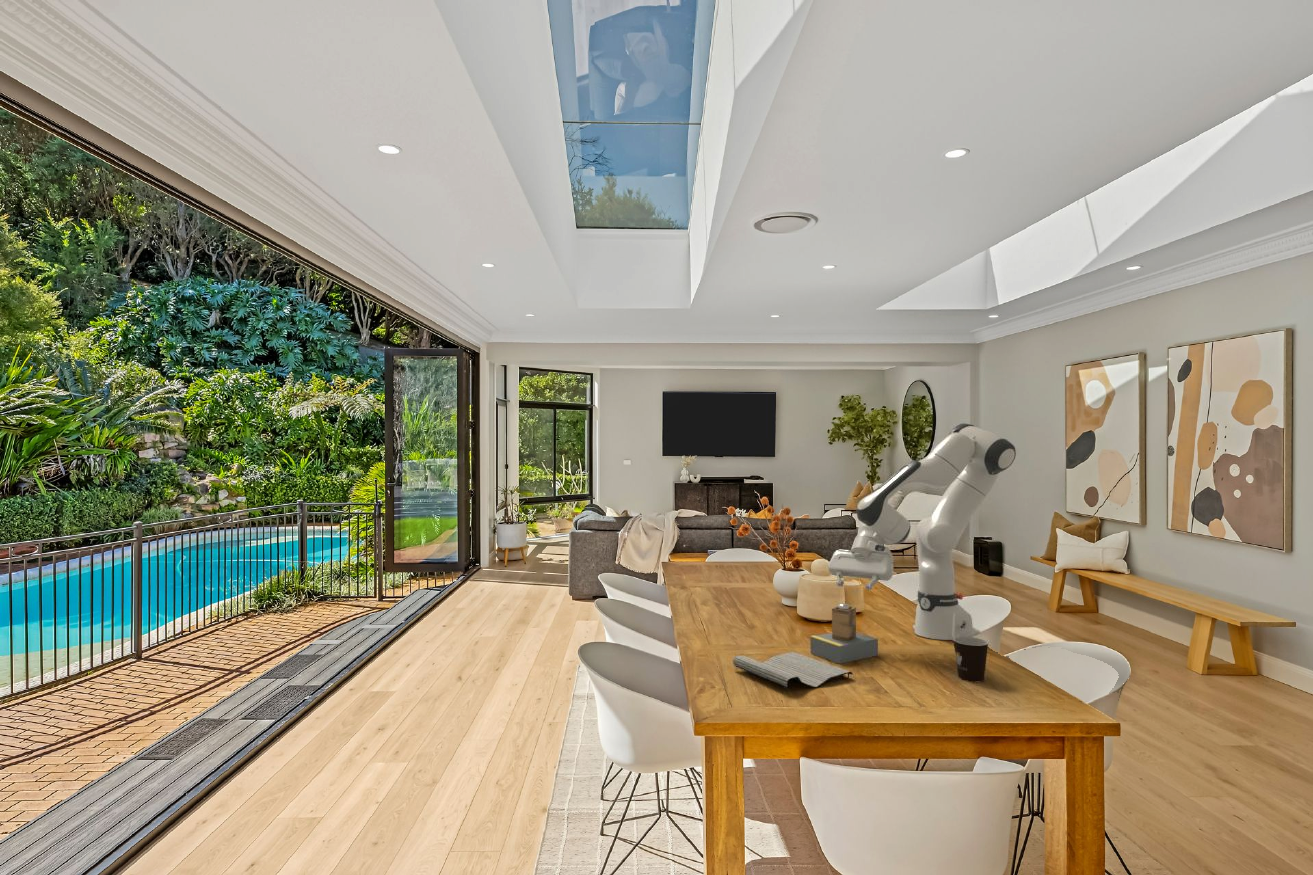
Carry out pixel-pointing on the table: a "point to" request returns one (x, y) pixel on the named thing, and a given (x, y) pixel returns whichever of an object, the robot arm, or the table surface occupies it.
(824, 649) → the block
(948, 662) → the table surface
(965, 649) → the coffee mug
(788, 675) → the mat
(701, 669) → the table surface
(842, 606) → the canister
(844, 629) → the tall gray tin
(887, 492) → the robot arm
